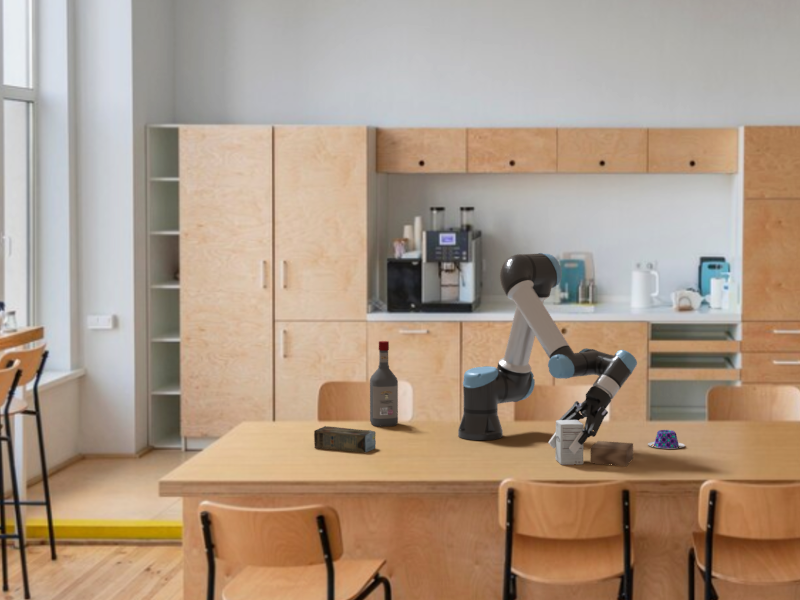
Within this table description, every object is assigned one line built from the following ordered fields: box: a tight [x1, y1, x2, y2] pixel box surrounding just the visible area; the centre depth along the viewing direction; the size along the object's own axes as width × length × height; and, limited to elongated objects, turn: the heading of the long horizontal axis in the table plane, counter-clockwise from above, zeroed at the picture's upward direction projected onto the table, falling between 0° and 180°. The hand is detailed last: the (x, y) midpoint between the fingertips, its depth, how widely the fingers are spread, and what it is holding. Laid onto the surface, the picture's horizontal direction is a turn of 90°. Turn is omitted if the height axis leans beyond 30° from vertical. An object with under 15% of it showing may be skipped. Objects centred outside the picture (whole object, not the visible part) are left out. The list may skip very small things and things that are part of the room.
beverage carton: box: [313, 425, 377, 453], centre depth 401 cm, size 8×19×7 cm, turn 66°
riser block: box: [590, 440, 634, 467], centre depth 380 cm, size 11×11×5 cm
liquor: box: [369, 340, 399, 428], centre depth 443 cm, size 9×9×30 cm
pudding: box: [647, 429, 686, 450], centre depth 404 cm, size 12×12×5 cm
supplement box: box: [554, 419, 585, 466], centre depth 379 cm, size 7×7×13 cm
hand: (561, 448), depth 377 cm, fingers closed on supplement box, 9 cm apart
